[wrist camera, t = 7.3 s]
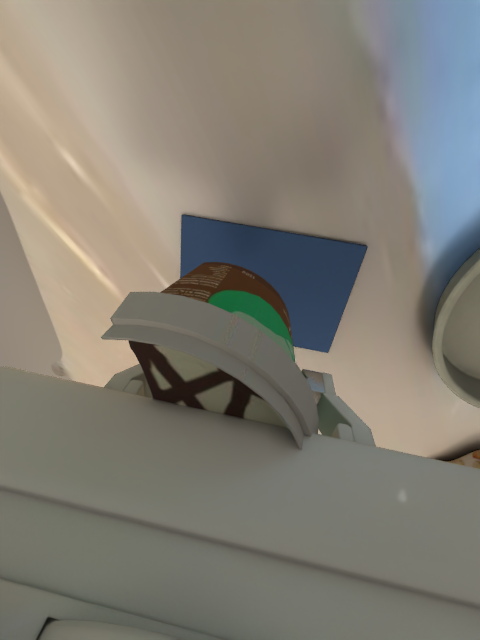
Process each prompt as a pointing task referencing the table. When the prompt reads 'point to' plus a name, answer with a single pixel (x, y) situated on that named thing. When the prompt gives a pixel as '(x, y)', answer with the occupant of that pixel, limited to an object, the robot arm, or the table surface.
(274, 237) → the mat
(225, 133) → the table surface
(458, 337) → the cake pan
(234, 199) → the table surface
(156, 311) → the food container
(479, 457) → the mug
